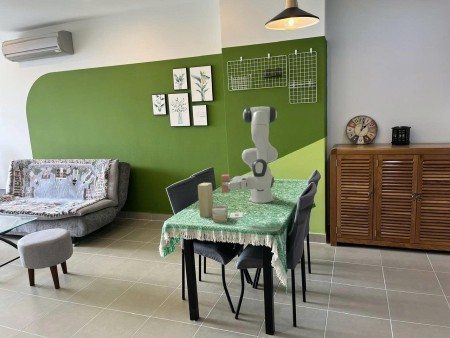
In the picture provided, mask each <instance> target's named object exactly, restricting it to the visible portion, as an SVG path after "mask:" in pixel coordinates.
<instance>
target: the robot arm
mask: <svg viewBox="0 0 450 338" xmlns="http://www.w3.org/2000/svg"><path fill="white" fill-rule="evenodd" d="M277 117H278V112H277V110H276V107H274V106H252V107H249V106H248V107H246V108H244V110H243V113H242V118H243V120H244V122H245V123H246V124H251V126H250V127H251V128H250V130H251V141H252V142H253V143H254V146H255V147H251V148H250V147H249V148H246V149H244V150H243V151H242V153H241V159H242V161H243V162H244V163H245V164H246V165H248V167H249V168H250V171H251V172H252V174H243V175H236V176H234V177H233V178H230V182H223V185H226V186H228V189H230V191H231V190H233V191H240V190H241V192H244V191H250V197H249V198H248V201H249V202H252V203H256V204H265V203H271V202H274V201H275V198H274V196H273V192H272V188H273V186H274V182H275V177H274V175H273V174H272V172H271V168H270V167H269V165H268V163H272V162H275V161H277V160H278V155H279V153H278V150H277V148H276V147H274V146H273V145H272V144H271V143H270V140H269V137H270V136H269V135H270V133H269V132H270V124H272V123H274V122H275V121H276V119H277Z"/></svg>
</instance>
